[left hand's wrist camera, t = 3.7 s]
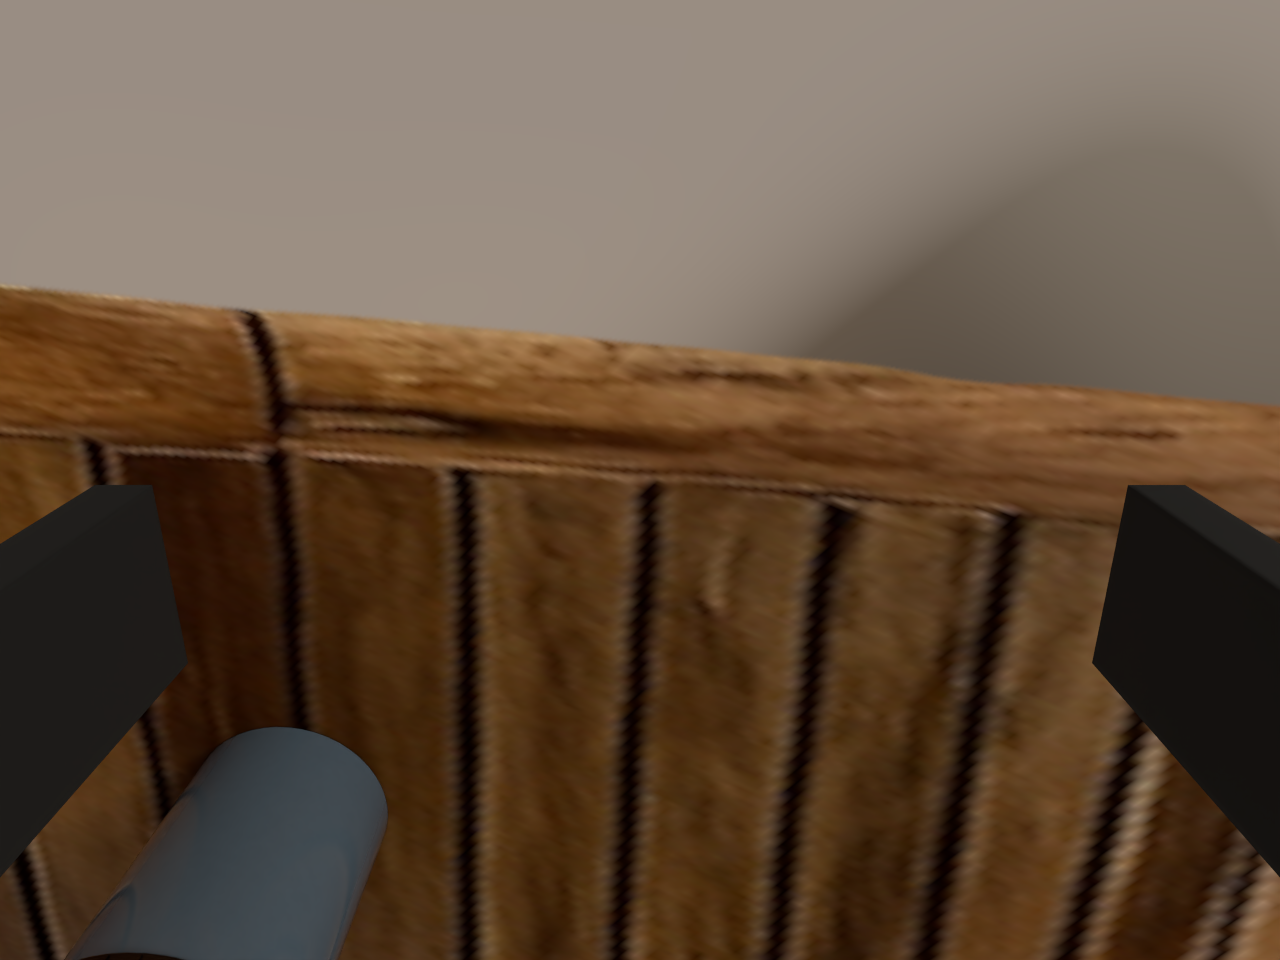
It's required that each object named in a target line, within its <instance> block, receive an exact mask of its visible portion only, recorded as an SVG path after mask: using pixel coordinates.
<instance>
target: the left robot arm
mask: <svg viewBox="0 0 1280 960" xmlns="http://www.w3.org/2000/svg"><path fill="white" fill-rule="evenodd" d="M187 663H188V661H187V656H186V651H185V647H184V642H183V637H182V632H181V627H180V622H179V617H178V612H177V607H176V602H175V597H174V592H173V587H172V582H171V577H170V572H169V567H168V562H167V557H166V552H165V548H164V543H163V538H162V533H161V528H160V523H159V518H158V513H157V508H156V503H155V498H154V493H153V488H152V485H94V486H93V487H91V488H90V489H88V490H86V491H85V492H83V493H82V494H80V495H78V496H77V497H75V498H74V499H72V500H70V501H69V502H67V503H65V504H64V505H62V506H61V507H59V508H57V509H56V510H54V511H53V512H51V513H49V514H48V515H46V516H45V517H43V518H41V519H40V520H38V521H36V522H35V523H33V524H32V525H30V526H28V527H27V528H25V529H24V530H22V531H20V532H19V533H17V534H16V535H14V536H12V537H11V538H9V539H8V540H6V541H4V542H3V543H1V544H0V877H1V876H2V875H3V873H4V872H5V871H6V870H7V869H8V868H9V867H10V865H11V864H12V863H13V862H14V861H15V860H16V859H17V857H18V856H19V855H20V854H21V853H22V852H23V851H24V849H25V848H26V847H27V846H28V845H29V844H30V843H31V841H32V840H33V839H34V838H35V837H36V836H37V835H38V833H39V832H40V831H41V830H42V829H43V828H44V827H45V825H46V824H47V823H48V822H49V821H50V820H51V819H52V817H53V816H54V815H55V814H56V813H57V812H58V811H59V809H60V808H61V807H62V806H63V805H64V804H65V803H66V801H67V800H68V799H69V798H70V797H71V796H72V795H73V793H74V792H75V791H76V790H77V789H78V788H79V787H80V785H81V784H82V783H83V782H84V781H85V780H86V779H87V777H88V776H89V775H90V774H91V773H92V772H93V771H94V769H95V768H96V767H97V766H98V765H99V764H100V763H101V761H102V760H103V759H104V758H105V757H106V756H107V755H108V753H109V752H110V751H111V750H112V749H113V748H114V747H115V745H116V744H117V743H118V742H119V741H120V740H121V739H122V737H123V736H124V735H125V734H126V733H127V732H128V731H129V729H130V728H131V727H132V726H133V725H134V724H135V723H136V722H137V720H138V719H139V718H140V717H141V716H142V715H143V714H144V712H145V711H146V710H147V709H148V708H149V707H150V706H151V704H152V703H153V702H154V701H155V700H156V699H157V698H158V696H159V695H160V694H161V693H162V692H163V691H164V690H165V688H166V687H167V686H168V685H169V684H170V683H171V682H172V680H173V679H174V678H175V677H176V676H177V675H178V674H179V672H180V671H181V670H182V669H183V668H184V667H185V666H186V664H187ZM1092 663H1093V664H1094V666H1095V667H1096V668H1097V669H1098V670H1099V671H1100V672H1101V674H1102V675H1103V676H1104V677H1105V678H1106V679H1107V680H1108V682H1109V683H1110V684H1111V685H1112V686H1113V687H1114V688H1115V690H1116V691H1117V692H1118V693H1119V694H1120V695H1121V696H1122V698H1123V699H1124V700H1125V701H1126V702H1127V703H1128V704H1129V706H1130V707H1131V708H1132V709H1133V710H1134V711H1135V712H1136V714H1137V715H1138V716H1139V717H1140V718H1141V719H1142V720H1143V722H1144V723H1145V724H1146V725H1147V726H1148V727H1149V728H1150V729H1151V731H1152V732H1153V733H1154V734H1155V735H1156V736H1157V737H1158V739H1159V740H1160V741H1161V742H1162V743H1163V744H1164V745H1165V747H1166V748H1167V749H1168V750H1169V751H1170V752H1171V753H1172V755H1173V756H1174V757H1175V758H1176V759H1177V760H1178V761H1179V763H1180V764H1181V765H1182V766H1183V767H1184V768H1185V769H1186V771H1187V772H1188V773H1189V774H1190V775H1191V776H1192V777H1193V779H1194V780H1195V781H1196V782H1197V783H1198V784H1199V785H1200V787H1201V788H1202V789H1203V790H1204V791H1205V792H1206V793H1207V795H1208V796H1209V797H1210V798H1211V799H1212V800H1213V801H1214V803H1215V804H1216V805H1217V806H1218V807H1219V808H1220V809H1221V811H1222V812H1223V813H1224V814H1225V815H1226V816H1227V817H1228V819H1229V820H1230V821H1231V822H1232V823H1233V824H1234V825H1235V827H1236V828H1237V829H1238V830H1239V831H1240V832H1241V833H1242V835H1243V836H1244V837H1245V838H1246V839H1247V840H1248V841H1249V843H1250V844H1251V845H1252V846H1253V847H1254V848H1255V849H1256V851H1257V852H1258V853H1259V854H1260V855H1261V856H1262V857H1263V859H1264V860H1265V861H1266V862H1267V863H1268V864H1269V865H1270V867H1271V868H1272V869H1273V870H1274V871H1275V872H1276V873H1277V875H1278V876H1279V877H1280V544H1279V543H1277V542H1276V541H1274V540H1272V539H1271V538H1269V537H1268V536H1266V535H1264V534H1263V533H1261V532H1260V531H1258V530H1256V529H1255V528H1253V527H1252V526H1250V525H1248V524H1247V523H1245V522H1244V521H1242V520H1240V519H1239V518H1237V517H1235V516H1234V515H1232V514H1231V513H1229V512H1227V511H1226V510H1224V509H1223V508H1221V507H1219V506H1218V505H1216V504H1215V503H1213V502H1211V501H1210V500H1208V499H1206V498H1205V497H1203V496H1202V495H1200V494H1198V493H1197V492H1195V491H1194V490H1192V489H1190V488H1189V487H1187V486H1186V485H1128V488H1127V493H1126V498H1125V503H1124V508H1123V513H1122V518H1121V523H1120V528H1119V533H1118V538H1117V543H1116V548H1115V552H1114V557H1113V562H1112V567H1111V572H1110V577H1109V582H1108V587H1107V592H1106V597H1105V602H1104V607H1103V612H1102V617H1101V622H1100V627H1099V632H1098V637H1097V642H1096V647H1095V651H1094V656H1093V661H1092Z"/></svg>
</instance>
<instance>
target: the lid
mask: <svg viewBox="0 0 1280 960" xmlns="http://www.w3.org/2000/svg"><path fill="white" fill-rule="evenodd" d="M79 960H184V959H179V958H176V957H171V956H165V955H158V954H150V953H131V952H125V953H109V954H102V955H96V956H90V957H86V958H82V959H79Z"/></svg>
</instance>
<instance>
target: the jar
mask: <svg viewBox="0 0 1280 960" xmlns="http://www.w3.org/2000/svg"><path fill="white" fill-rule="evenodd" d="M387 819H388V812H387V803H386V799H385V795H384V792H383V790H382V787H381V785H380V783H379V781H378V779H377V778H376V776H375V775H374V773H373V772H372V771H371V769H370V768H369V767H368V765H367V764H366V763H365V762H364V761H363V760H362V759H361V758H360V757H358V756H357V755H356V754H355V753H354V752H352V751H351V750H350V749H348V748H347V747H345V746H344V745H342V744H340V743H339V742H337V741H335V740H333V739H331V738H329V737H326V736H323V735H321V734H318V733H315V732H311V731H308V730H304V729H297V728H291V727H268V728H260V729H255V730H251V731H248V732H244V733H241V734H239V735H237V736H235V737H233V738H230V739H229V740H227V741H226V742H224V743H222V744H221V745H219V746H218V747H217V748H216V749H215V750H214V751H213V752H212V753H211V754H210V755H209V756H208V758H207V759H206V760H205V761H204V763H203V764H202V766H201V767H200V768H199V770H198V771H197V773H196V774H195V776H194V777H193V778H192V780H191V781H190V783H189V784H188V785H187V787H186V788H185V790H184V791H183V792H182V794H181V795H180V797H179V798H178V800H177V801H176V802H175V804H174V805H173V807H172V808H171V809H170V811H169V812H168V814H167V815H166V816H165V818H164V819H163V821H162V822H161V824H160V825H159V826H158V828H157V829H156V831H155V832H154V833H153V835H152V836H151V838H150V839H149V840H148V842H147V843H146V845H145V846H144V848H143V849H142V850H141V852H140V853H139V855H138V856H137V857H136V859H135V860H134V862H133V863H132V864H131V866H130V867H129V869H128V870H127V872H126V873H125V874H124V876H123V877H122V879H121V880H120V881H119V883H118V884H117V886H116V887H115V888H114V890H113V891H112V893H111V894H110V896H109V897H108V898H107V900H106V901H105V903H104V904H103V905H102V907H101V908H100V910H99V911H98V912H97V914H96V915H95V917H94V918H93V920H92V921H91V922H90V924H89V925H88V927H87V928H86V929H85V931H84V932H83V934H82V935H81V936H80V938H79V939H78V941H77V942H76V944H75V945H74V946H73V948H72V949H71V951H70V952H69V953H68V955H67V956H66V958H65V959H64V960H79V959H82V958H86V957H90V956H96V955H102V954H109V953H125V952H131V953H150V954H158V955H165V956H171V957H176V958H179V959H184V960H338V959H339V956H340V953H341V951H342V948H343V945H344V943H345V940H346V937H347V935H348V932H349V929H350V926H351V924H352V921H353V918H354V916H355V913H356V910H357V908H358V905H359V902H360V900H361V897H362V894H363V891H364V889H365V886H366V883H367V881H368V878H369V875H370V873H371V870H372V867H373V865H374V862H375V859H376V856H377V854H378V851H379V848H380V846H381V843H382V840H383V838H384V835H385V831H386V827H387Z"/></svg>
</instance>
